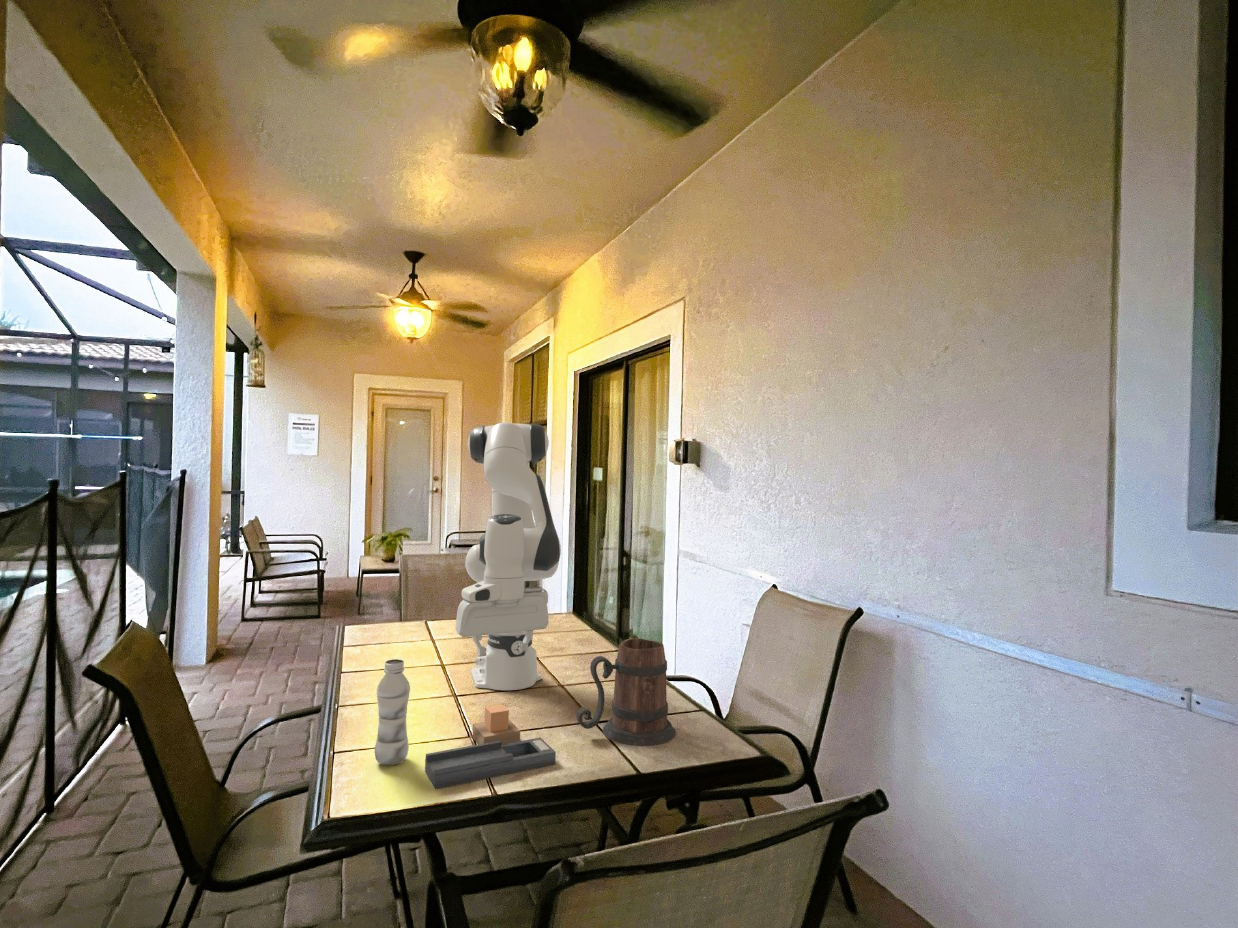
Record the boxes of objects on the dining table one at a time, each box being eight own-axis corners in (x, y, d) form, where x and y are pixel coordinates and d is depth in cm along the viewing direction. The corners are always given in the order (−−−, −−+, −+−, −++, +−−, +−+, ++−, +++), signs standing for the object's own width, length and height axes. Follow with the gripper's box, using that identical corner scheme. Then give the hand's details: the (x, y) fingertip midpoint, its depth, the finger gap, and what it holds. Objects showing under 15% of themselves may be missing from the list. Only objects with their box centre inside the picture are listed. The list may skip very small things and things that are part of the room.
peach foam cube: (484, 725, 144) (485, 706, 144) (502, 722, 146) (502, 704, 146) (490, 731, 140) (490, 713, 140) (508, 728, 142) (508, 710, 142)
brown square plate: (472, 737, 145) (472, 723, 145) (507, 731, 149) (507, 717, 149) (483, 751, 138) (484, 736, 138) (519, 744, 142) (520, 730, 142)
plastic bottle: (412, 755, 135) (415, 657, 135) (402, 769, 128) (405, 666, 128) (380, 754, 135) (383, 656, 135) (369, 769, 128) (372, 666, 128)
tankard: (656, 713, 162) (658, 632, 162) (689, 740, 146) (691, 650, 147) (565, 725, 153) (567, 638, 153) (589, 754, 138) (592, 658, 138)
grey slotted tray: (424, 771, 128) (425, 753, 128) (540, 749, 140) (540, 732, 140) (434, 789, 121) (435, 770, 121) (555, 764, 133) (555, 746, 133)
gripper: (542, 584, 152) (541, 645, 151) (454, 590, 142) (452, 655, 141) (553, 588, 146) (552, 651, 146) (462, 594, 136) (461, 662, 136)
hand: (502, 653), depth 143 cm, fingers open, 8 cm apart
